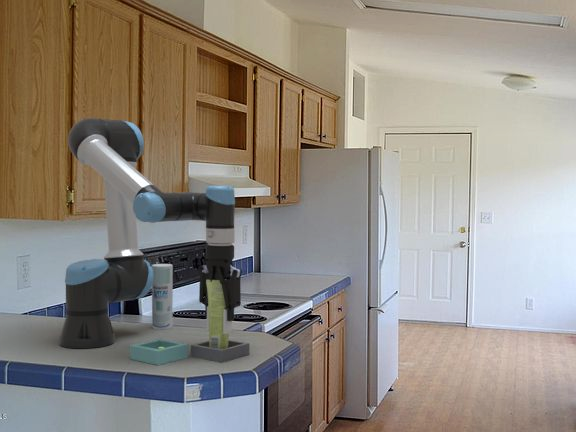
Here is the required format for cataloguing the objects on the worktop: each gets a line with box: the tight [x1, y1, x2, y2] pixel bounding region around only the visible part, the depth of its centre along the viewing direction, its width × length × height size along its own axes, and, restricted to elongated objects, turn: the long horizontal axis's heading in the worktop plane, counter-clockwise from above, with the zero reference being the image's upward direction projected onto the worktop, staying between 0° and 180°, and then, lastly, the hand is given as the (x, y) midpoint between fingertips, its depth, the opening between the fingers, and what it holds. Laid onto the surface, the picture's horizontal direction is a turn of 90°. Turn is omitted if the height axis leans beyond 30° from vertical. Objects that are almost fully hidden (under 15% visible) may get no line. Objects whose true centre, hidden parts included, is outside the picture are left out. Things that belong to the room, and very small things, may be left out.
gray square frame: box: [190, 339, 250, 363], centre depth 190 cm, size 11×11×3 cm
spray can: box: [151, 263, 174, 331], centre depth 226 cm, size 6×6×20 cm
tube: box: [206, 280, 230, 350], centre depth 190 cm, size 6×5×20 cm
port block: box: [129, 338, 189, 366], centre depth 187 cm, size 10×10×4 cm
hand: (219, 331), depth 190 cm, fingers closed on tube, 5 cm apart
